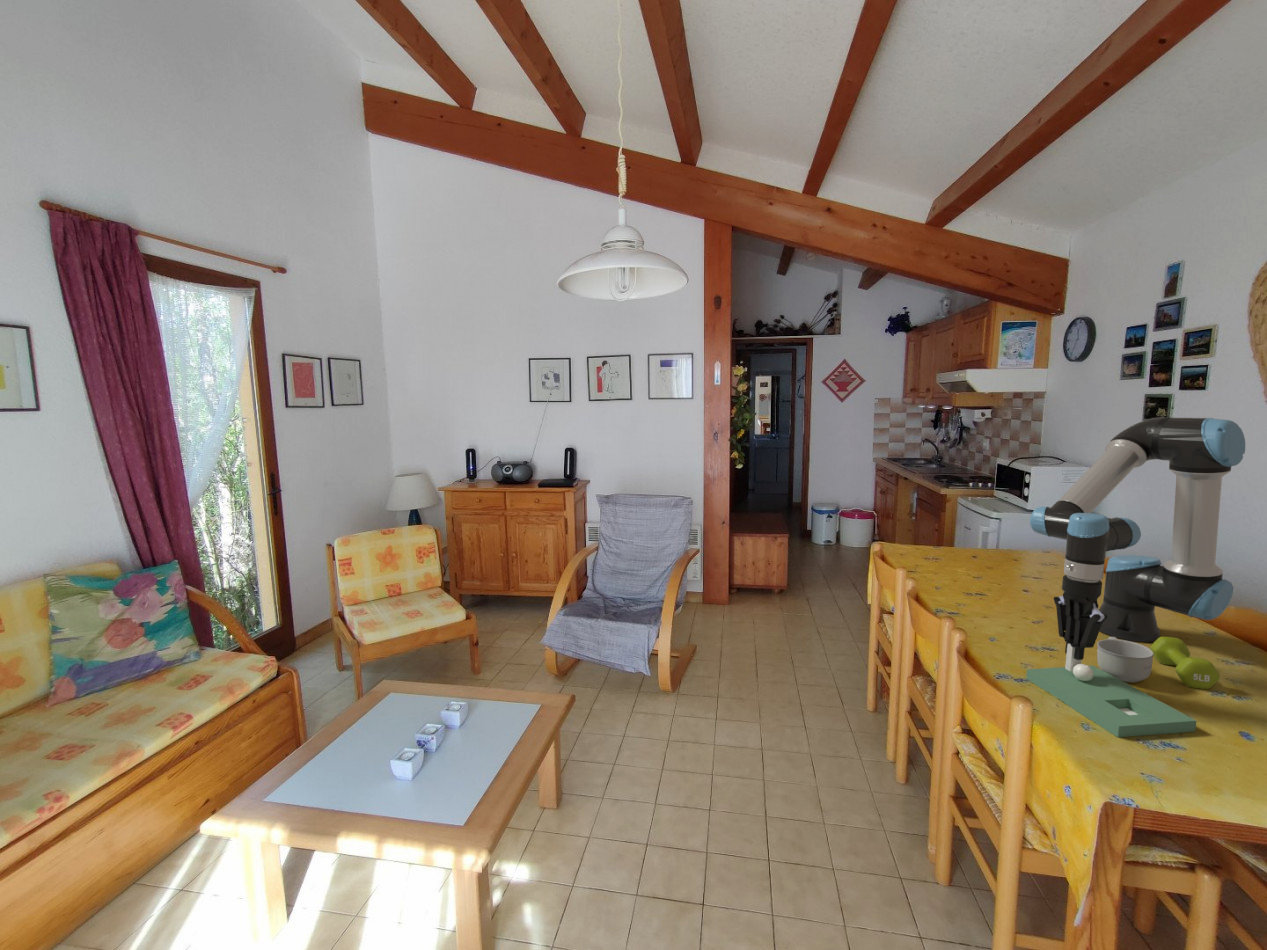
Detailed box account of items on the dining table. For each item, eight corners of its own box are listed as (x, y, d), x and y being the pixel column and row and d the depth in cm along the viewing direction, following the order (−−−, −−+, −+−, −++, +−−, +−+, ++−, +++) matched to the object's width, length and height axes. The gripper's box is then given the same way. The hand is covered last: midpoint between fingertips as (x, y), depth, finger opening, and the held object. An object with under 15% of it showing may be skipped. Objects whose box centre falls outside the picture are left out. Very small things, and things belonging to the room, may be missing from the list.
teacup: (1154, 691, 138) (1158, 660, 137) (1097, 680, 144) (1100, 650, 143) (1142, 667, 150) (1145, 638, 149) (1089, 658, 156) (1092, 630, 154)
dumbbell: (1146, 658, 155) (1149, 633, 154) (1183, 663, 153) (1187, 637, 152) (1178, 687, 140) (1182, 660, 139) (1220, 693, 137) (1224, 665, 136)
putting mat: (1091, 674, 147) (1092, 665, 146) (1195, 731, 122) (1196, 720, 122) (1026, 678, 145) (1026, 669, 145) (1117, 737, 120) (1118, 726, 120)
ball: (1080, 669, 142) (1088, 659, 139) (1092, 683, 139) (1101, 674, 136) (1065, 670, 141) (1073, 661, 139) (1077, 685, 138) (1085, 675, 136)
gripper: (1046, 569, 144) (1037, 658, 148) (1091, 587, 131) (1081, 683, 135) (1074, 568, 145) (1064, 656, 148) (1121, 586, 132) (1110, 682, 135)
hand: (1072, 669), depth 142 cm, fingers closed
